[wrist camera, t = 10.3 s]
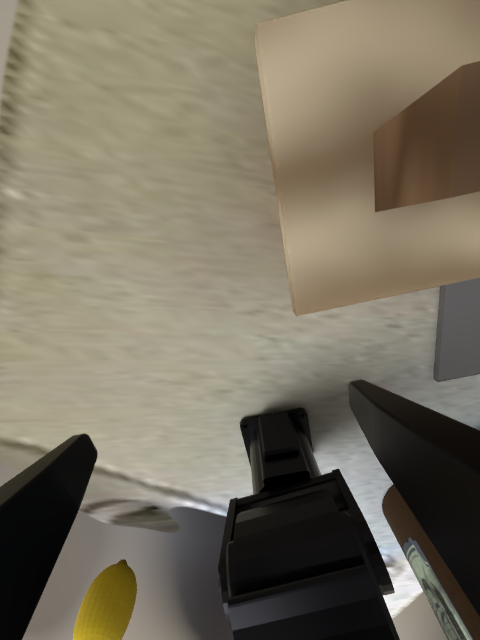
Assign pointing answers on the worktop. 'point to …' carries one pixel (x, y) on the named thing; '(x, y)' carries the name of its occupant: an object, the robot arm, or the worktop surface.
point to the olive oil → (431, 571)
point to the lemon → (107, 605)
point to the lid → (374, 146)
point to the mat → (458, 331)
